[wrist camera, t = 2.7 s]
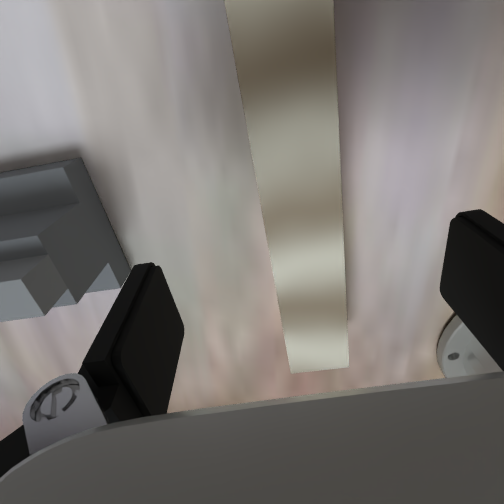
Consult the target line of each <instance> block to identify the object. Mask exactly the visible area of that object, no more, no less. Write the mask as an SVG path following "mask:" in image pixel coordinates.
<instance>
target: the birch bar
mask: <svg viewBox="0 0 504 504" xmlns="http://www.w3.org/2000/svg"><path fill="white" fill-rule="evenodd" d="M224 3H225V8H226V14H227V19H228V25H229V31H230V36H231V42H232V47H233V53H234V58H235V64H236V70H237V75H238V81H239V86H240V92H241V98H242V103H243V109H244V114H245V120H246V126H247V131H248V137H249V142H250V148H251V153H252V159H253V165H254V170H255V176H256V181H257V187H258V193H259V198H260V204H261V209H262V215H263V220H264V226H265V232H266V237H267V243H268V248H269V254H270V260H271V265H272V271H273V276H274V282H275V287H276V293H277V299H278V304H279V310H280V315H281V321H282V327H283V332H284V338H285V343H286V349H287V354H288V360H289V366H290V371H291V373H300V372H309V371H318V370H327V369H336V368H345V367H349V353H348V330H347V307H346V283H345V260H344V236H343V213H342V189H341V166H340V143H339V119H338V96H337V72H336V49H335V26H334V2H333V0H224Z"/></svg>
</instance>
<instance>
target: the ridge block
mask: <svg viewBox="0 0 504 504" xmlns="http://www.w3.org/2000/svg"><path fill="white" fill-rule="evenodd" d="M130 272H131V270H130V267H129V265H128V263H127V261H126V258H125V256H124V254H123V252H122V249H121V247H120V245H119V243H118V240H117V238H116V236H115V234H114V231H113V229H112V227H111V224H110V222H109V220H108V218H107V215H106V213H105V211H104V209H103V206H102V204H101V202H100V200H99V197H98V195H97V193H96V190H95V188H94V186H93V184H92V181H91V179H90V177H89V175H88V172H87V170H86V168H85V166H84V163H83V161H82V159H81V158H77V159H71V160H66V161H61V162H55V163H50V164H45V165H39V166H34V167H29V168H23V169H18V170H13V171H7V172H2V173H0V322H3V321H11V320H18V319H25V318H33V317H40V316H45V315H46V314H47V313H48V311H49V310H50V309H51V308H52V307H59V306H67V305H74V304H77V303H78V302H79V301H80V299H81V298H82V297H83V295H84V294H85V293H89V292H96V291H103V290H110V289H117V288H121V286H122V285H123V283H124V282H125V280H126V278H127V277H128V275H129V273H130Z"/></svg>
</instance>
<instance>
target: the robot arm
mask: <svg viewBox="0 0 504 504" xmlns="http://www.w3.org/2000/svg"><path fill="white" fill-rule="evenodd" d="M440 292H441V295H442V297H443V298H444V300H445V301H446V302H447V303H448V305H449V306H450V307H451V308H452V309H453V311H454V312H455V313H456V314H457V315H456V316H455V317H454V318H453V319H452V321H451V322H450V323H449V324H448V326H447V327H446V328H445V330H444V332H443V334H442V336H441V338H440V340H439V344H438V348H437V361H438V364H439V367H440V369H441V371H442V373H443V374H444V376H445V377H446V378H442V379H433V380H425V381H416V382H408V383H400V384H392V385H384V386H375V387H367V388H359V389H351V390H343V391H335V392H327V393H319V394H311V395H303V396H295V397H287V398H279V399H271V400H264V401H256V402H248V403H240V404H233V405H225V406H217V407H209V408H202V409H195V410H188V411H181V412H174V413H167V409H168V405H169V400H170V396H171V391H172V387H173V382H174V378H175V373H176V369H177V364H178V360H179V355H180V351H181V346H182V342H183V337H184V325H183V322H182V319H181V317H180V314H179V312H178V309H177V307H176V304H175V302H174V299H173V297H172V294H171V292H170V289H169V287H168V284H167V282H166V279H165V277H164V274H163V272H162V269H161V267H160V266H155V264H154V263H152V262H151V263H144V264H138V265H135V266H134V267H133V268H132V270H131V272H130V274H129V276H128V278H127V280H126V282H125V283H124V285H123V287H122V289H121V291H120V293H119V295H118V297H117V298H116V300H115V302H114V304H113V306H112V308H111V310H110V312H109V313H108V315H107V317H106V319H105V321H104V323H103V325H102V327H101V328H100V330H99V332H98V334H97V336H96V338H95V340H94V342H93V343H92V345H91V347H90V349H89V351H88V353H87V355H86V357H85V358H84V360H83V362H82V366H81V368H80V370H79V372H78V374H76V373H71V374H65V375H62V376H59V377H57V378H55V379H53V380H51V381H49V382H48V383H46V384H45V385H44V386H42V387H41V388H40V389H39V390H38V391H37V392H36V393H35V394H34V395H33V396H32V397H31V398H30V400H29V401H28V403H27V404H26V406H25V409H24V411H23V425H22V426H21V427H19V428H18V429H17V430H15V431H14V432H13V433H11V434H10V435H8V436H7V437H6V438H4V439H3V440H1V441H0V504H504V224H503V223H502V222H500V221H499V220H497V219H495V218H494V217H492V216H491V215H489V214H488V213H486V212H485V211H483V210H481V209H478V210H472V211H465V212H460V213H458V214H457V215H456V217H455V218H453V219H452V220H451V222H450V227H449V233H448V239H447V245H446V251H445V257H444V263H443V270H442V276H441V282H440Z"/></svg>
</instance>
